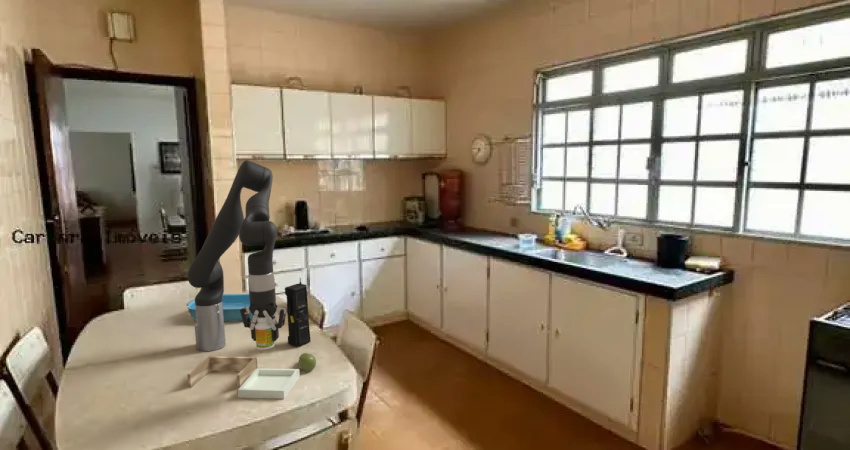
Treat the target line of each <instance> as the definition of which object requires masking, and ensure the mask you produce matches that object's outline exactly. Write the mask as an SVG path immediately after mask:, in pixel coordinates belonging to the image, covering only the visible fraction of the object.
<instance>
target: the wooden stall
mask: <svg viewBox="0 0 850 450" xmlns="http://www.w3.org/2000/svg"><path fill="white" fill-rule="evenodd" d="M257 368H258V357H256V356H211V355H210V356H207V357H206V358H205V359H204V360H203V361H202V362H200V363H199V364H198V365H197V366H196V367H195V368H193V369H192V370H190V371H189V372H188V373H187V383H188V388H189V389H191V388H193V387H194V386H195V385H197V383H198V382H200V381H201V380H202V379H203V378H204V377H205V376H206V375H208V374H209V372H210V371H230V372H231V371H235V372H236V371H238V374H237V375H236V381H237V390H238V389H239V388H240V387H241V386H242V385H243V384H244V382H245V381H246V380H247V379H248V378H249V377H250V376H251V375H252V374H253V373H254V371H255V370H256V369H257ZM239 371H240V372H239Z"/></svg>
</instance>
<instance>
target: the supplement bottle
mask: <svg viewBox="0 0 850 450" xmlns="http://www.w3.org/2000/svg"><path fill="white" fill-rule="evenodd" d="M257 322H258V323H256V325H255V334H256V341H255V347H256V348H257V349H258V350H268V349H269V350H270V349H272V348H273V347H275V344H276V341H272V330H273V329H272V327H271V325H270V324H269V323H268V321H267V319H266V317H258V318H257Z"/></svg>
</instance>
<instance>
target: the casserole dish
mask: <svg viewBox="0 0 850 450" xmlns="http://www.w3.org/2000/svg"><path fill="white" fill-rule="evenodd" d="M222 304H223V316H224V322H243V320H242V316H241V313H240V310H241V309H242V308H243V307H245V306H246V307H249V306H250V299H249V293H226V294H224V293H223V296H222ZM186 306H187V309H188V312H189V314H190V316H191V317H192V318H193V319H194V320H195V321H197V319H196V308H195V298H193V299H191V300H189V301H188V302H187V303H186ZM249 316H250V319H251V321H252V319H253V316H254V315H253V314H252V313H251V312H250V313H249Z"/></svg>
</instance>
